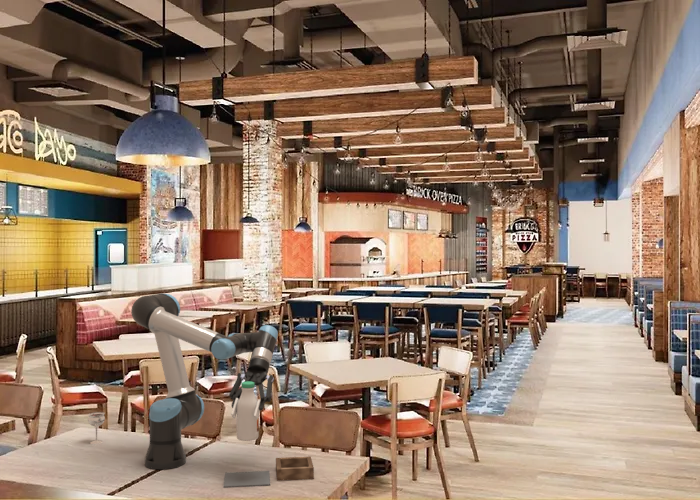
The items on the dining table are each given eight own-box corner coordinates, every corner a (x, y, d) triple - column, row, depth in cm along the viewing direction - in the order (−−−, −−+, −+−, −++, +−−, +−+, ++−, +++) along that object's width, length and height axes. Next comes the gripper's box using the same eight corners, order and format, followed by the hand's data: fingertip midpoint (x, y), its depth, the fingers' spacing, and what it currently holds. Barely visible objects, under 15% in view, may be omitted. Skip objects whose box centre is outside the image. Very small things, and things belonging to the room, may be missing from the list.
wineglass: (84, 444, 286) (84, 415, 286) (93, 439, 293) (93, 411, 293) (99, 445, 285) (99, 416, 285) (108, 440, 292) (108, 412, 292)
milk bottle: (254, 442, 241) (254, 385, 240) (233, 440, 242) (233, 384, 242) (261, 436, 248) (261, 380, 248) (241, 434, 250) (241, 379, 249)
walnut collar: (277, 480, 244) (277, 469, 244) (275, 468, 257) (275, 457, 257) (313, 479, 246) (313, 467, 246) (310, 467, 259) (310, 456, 259)
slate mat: (223, 487, 237) (223, 486, 237) (225, 473, 251) (225, 472, 251) (270, 485, 239) (270, 484, 239) (269, 471, 253) (269, 470, 253)
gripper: (288, 369, 258) (274, 424, 242) (236, 367, 262) (219, 420, 246) (284, 358, 252) (269, 413, 237) (231, 355, 256) (213, 409, 241)
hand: (244, 416), depth 242 cm, fingers closed on milk bottle, 8 cm apart
